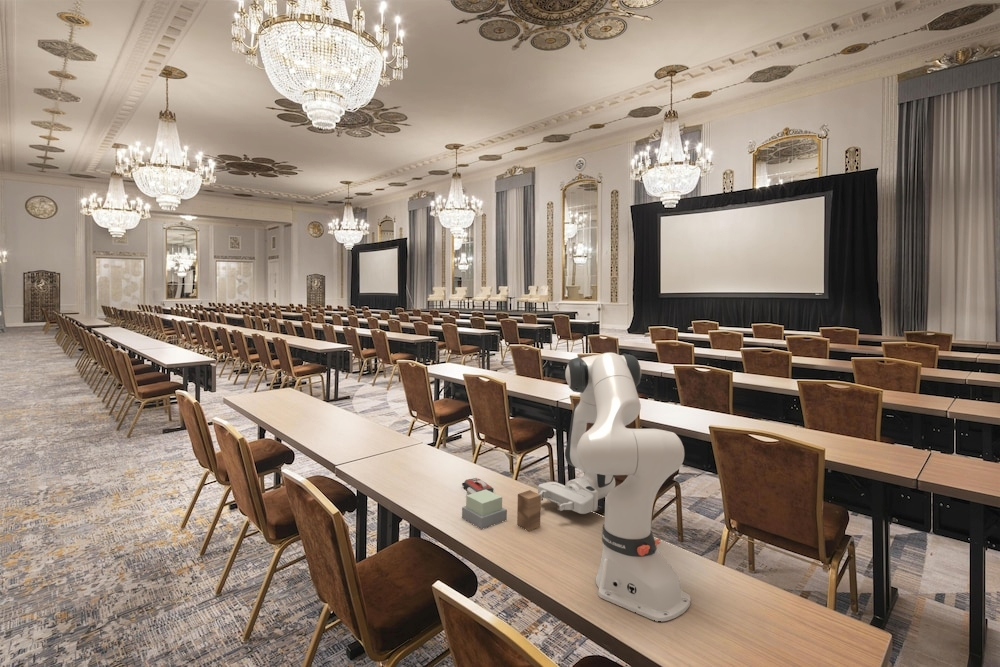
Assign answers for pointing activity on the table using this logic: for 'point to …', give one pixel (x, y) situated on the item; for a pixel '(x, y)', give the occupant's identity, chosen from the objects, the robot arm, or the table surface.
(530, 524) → the walnut pillar
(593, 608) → the table surface
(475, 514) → the tower base block
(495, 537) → the table surface
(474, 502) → the tower top block
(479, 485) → the walkie-talkie
